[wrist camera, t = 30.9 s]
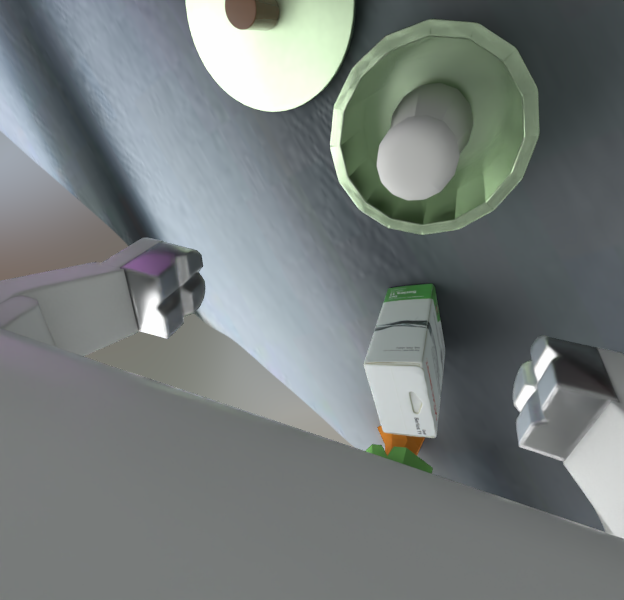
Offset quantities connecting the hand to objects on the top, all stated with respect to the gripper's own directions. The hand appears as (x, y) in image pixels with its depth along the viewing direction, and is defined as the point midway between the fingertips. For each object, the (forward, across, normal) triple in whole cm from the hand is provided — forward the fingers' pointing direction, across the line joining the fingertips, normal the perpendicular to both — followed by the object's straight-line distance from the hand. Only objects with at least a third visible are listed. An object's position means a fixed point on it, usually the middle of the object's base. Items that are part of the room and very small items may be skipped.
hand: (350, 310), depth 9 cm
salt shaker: (+27, 0, 0) cm, 27 cm away
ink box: (+27, +3, -19) cm, 33 cm away
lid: (+26, -14, +6) cm, 31 cm away
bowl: (+27, 0, 0) cm, 27 cm away
